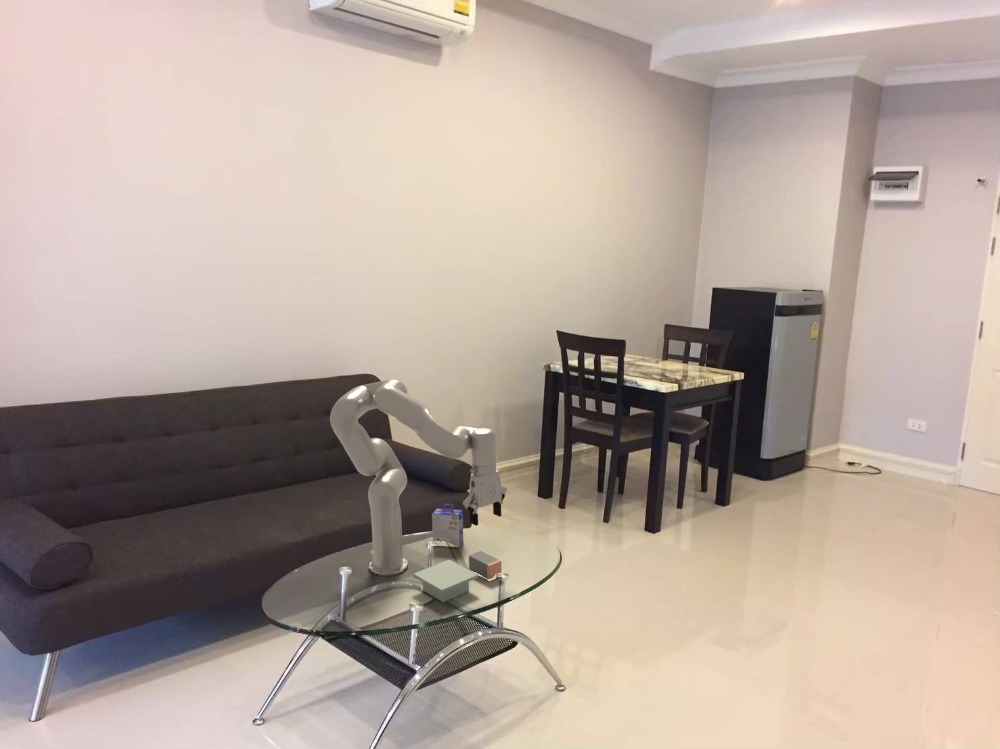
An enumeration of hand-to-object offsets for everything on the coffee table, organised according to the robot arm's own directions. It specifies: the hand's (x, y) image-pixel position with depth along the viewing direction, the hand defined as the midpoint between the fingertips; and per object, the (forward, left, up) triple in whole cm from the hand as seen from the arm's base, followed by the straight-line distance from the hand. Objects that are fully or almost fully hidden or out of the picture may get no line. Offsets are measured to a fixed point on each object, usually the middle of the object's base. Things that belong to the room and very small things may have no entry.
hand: (485, 519), depth 253 cm
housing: (0, 0, -19) cm, 19 cm away
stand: (0, -16, -19) cm, 25 cm away
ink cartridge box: (-25, +5, -19) cm, 32 cm away
